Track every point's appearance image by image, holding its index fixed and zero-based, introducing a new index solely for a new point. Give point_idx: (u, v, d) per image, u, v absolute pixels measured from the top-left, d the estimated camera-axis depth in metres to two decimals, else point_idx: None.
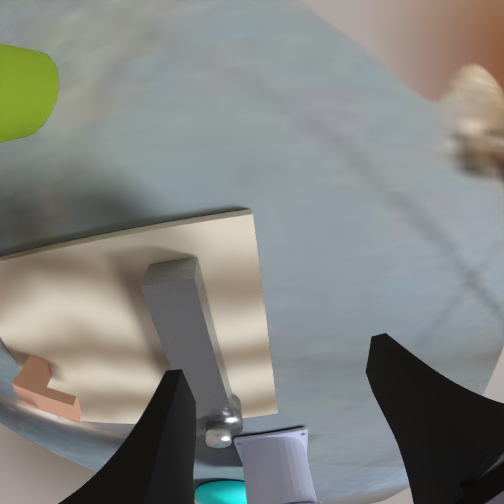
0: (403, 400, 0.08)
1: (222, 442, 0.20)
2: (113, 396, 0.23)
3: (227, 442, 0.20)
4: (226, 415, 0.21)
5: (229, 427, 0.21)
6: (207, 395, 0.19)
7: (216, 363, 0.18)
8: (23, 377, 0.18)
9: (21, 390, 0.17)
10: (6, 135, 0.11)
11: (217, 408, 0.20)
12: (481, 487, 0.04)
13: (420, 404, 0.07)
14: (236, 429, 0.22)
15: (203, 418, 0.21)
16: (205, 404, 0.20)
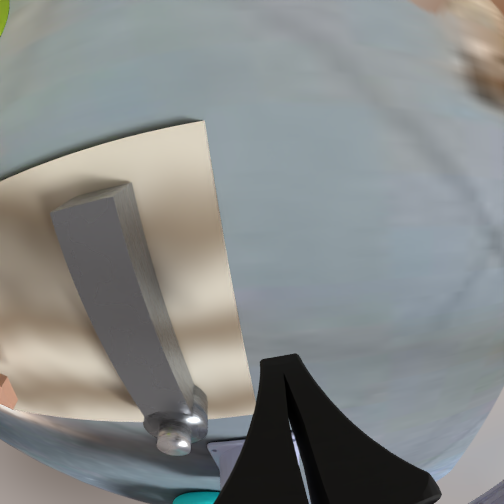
0: (299, 429, 0.08)
1: (178, 448, 0.15)
2: (57, 383, 0.17)
3: (185, 449, 0.15)
4: (182, 413, 0.15)
5: (188, 429, 0.16)
6: (151, 382, 0.14)
7: (155, 334, 0.13)
8: None
9: None
10: None
11: (168, 402, 0.15)
12: None
13: (306, 438, 0.07)
14: (199, 432, 0.16)
15: (153, 415, 0.15)
16: (152, 396, 0.14)
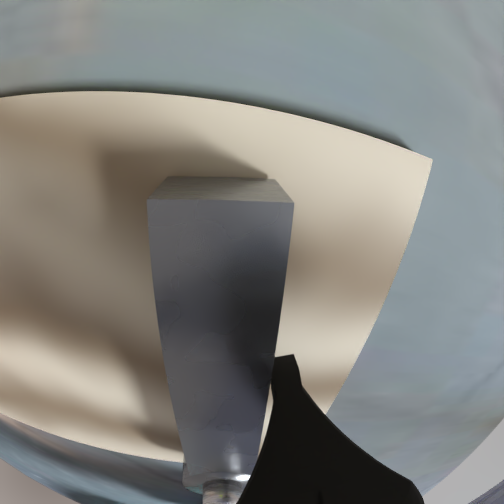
0: None
1: None
2: (53, 400, 0.12)
3: None
4: (243, 474, 0.11)
5: (241, 487, 0.12)
6: (224, 448, 0.10)
7: (265, 401, 0.09)
8: None
9: None
10: None
11: (233, 465, 0.11)
12: None
13: None
14: None
15: (203, 475, 0.11)
16: (215, 459, 0.10)
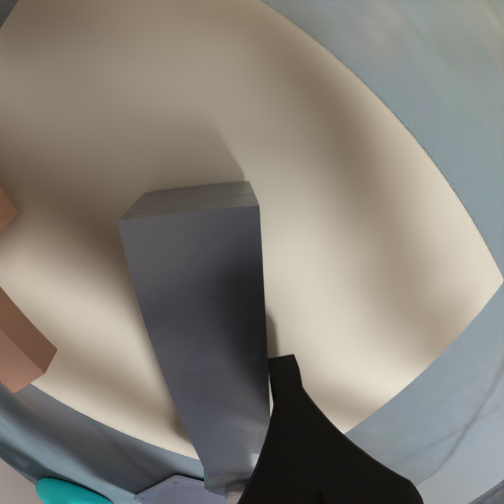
0: None
1: None
2: (86, 361, 0.11)
3: None
4: None
5: None
6: (237, 449, 0.10)
7: (268, 402, 0.09)
8: None
9: None
10: None
11: (250, 465, 0.11)
12: None
13: None
14: None
15: (222, 477, 0.11)
16: (231, 461, 0.11)
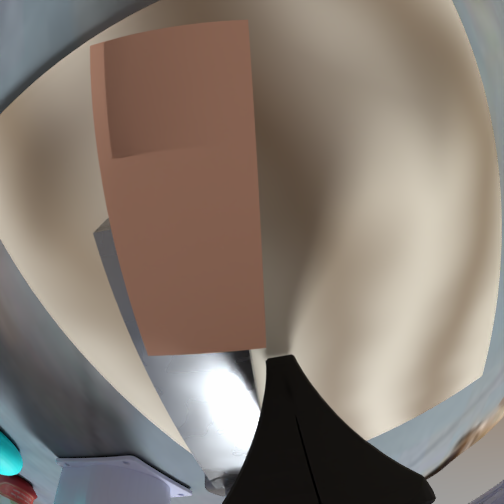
0: None
1: None
2: None
3: None
4: None
5: None
6: (232, 450, 0.10)
7: (256, 403, 0.09)
8: None
9: (217, 72, 0.04)
10: None
11: None
12: None
13: (300, 439, 0.07)
14: None
15: (222, 478, 0.11)
16: (227, 462, 0.11)
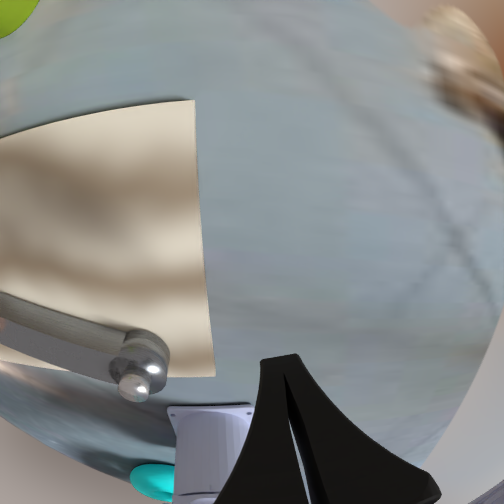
0: (299, 428, 0.08)
1: (133, 390, 0.16)
2: None
3: (134, 387, 0.16)
4: (113, 360, 0.17)
5: (132, 368, 0.17)
6: (73, 357, 0.17)
7: (32, 330, 0.16)
8: None
9: None
10: None
11: (96, 360, 0.17)
12: None
13: (306, 438, 0.07)
14: (146, 364, 0.17)
15: (114, 378, 0.18)
16: (88, 365, 0.17)
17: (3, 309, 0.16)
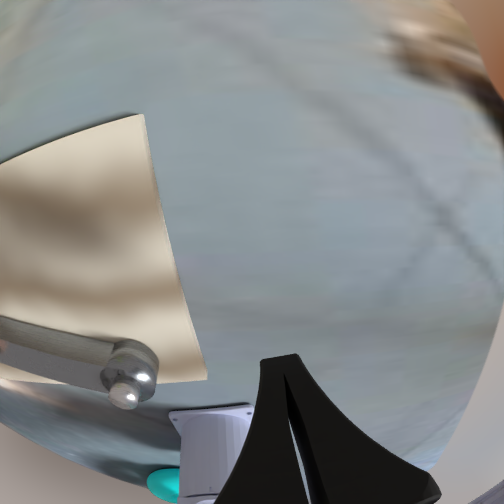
0: (299, 429, 0.08)
1: (122, 398, 0.17)
2: None
3: (123, 395, 0.17)
4: (102, 371, 0.18)
5: (121, 377, 0.18)
6: (67, 370, 0.17)
7: (28, 348, 0.16)
8: None
9: None
10: None
11: (88, 372, 0.18)
12: None
13: (306, 438, 0.07)
14: (133, 372, 0.18)
15: (107, 388, 0.18)
16: (82, 377, 0.18)
17: (2, 331, 0.17)
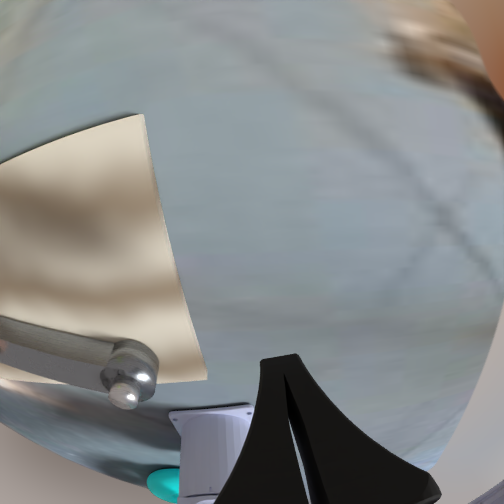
0: (299, 429, 0.08)
1: (122, 398, 0.17)
2: None
3: (123, 395, 0.17)
4: (102, 371, 0.18)
5: (121, 377, 0.18)
6: (67, 370, 0.17)
7: (28, 348, 0.16)
8: None
9: None
10: None
11: (88, 372, 0.18)
12: None
13: (306, 438, 0.07)
14: (133, 372, 0.18)
15: (107, 388, 0.18)
16: (82, 377, 0.18)
17: (2, 331, 0.17)
